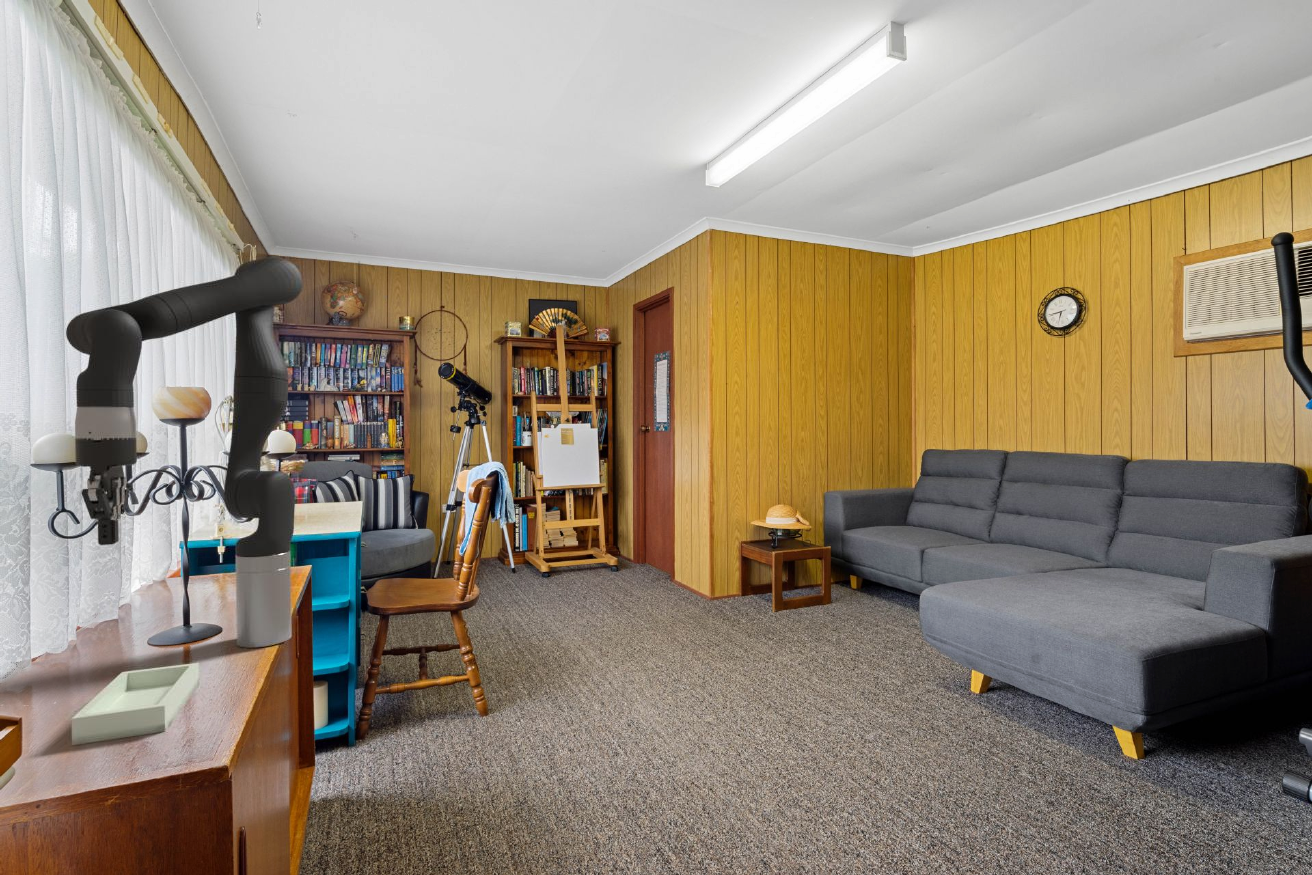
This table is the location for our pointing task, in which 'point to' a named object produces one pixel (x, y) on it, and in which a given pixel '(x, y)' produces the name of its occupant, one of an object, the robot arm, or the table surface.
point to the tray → (136, 704)
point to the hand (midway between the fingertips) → (108, 543)
